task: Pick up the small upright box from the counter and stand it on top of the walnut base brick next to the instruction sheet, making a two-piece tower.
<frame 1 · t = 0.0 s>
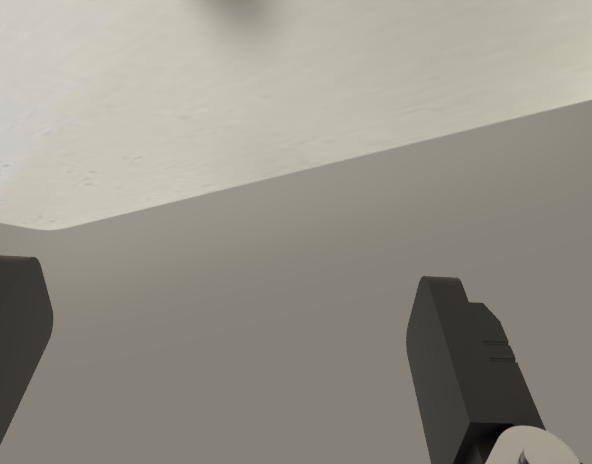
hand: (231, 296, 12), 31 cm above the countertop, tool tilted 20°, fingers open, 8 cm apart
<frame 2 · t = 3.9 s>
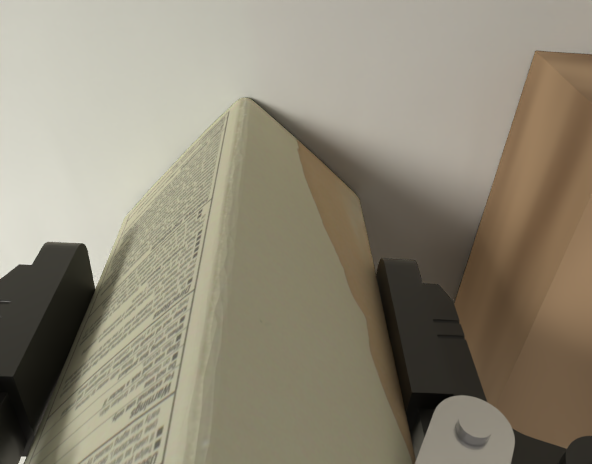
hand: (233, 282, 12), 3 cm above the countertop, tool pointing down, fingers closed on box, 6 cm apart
box: (244, 199, 15), on the countertop, touching gripper
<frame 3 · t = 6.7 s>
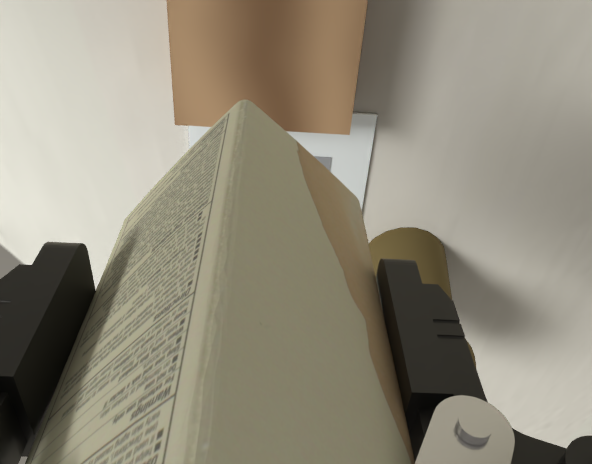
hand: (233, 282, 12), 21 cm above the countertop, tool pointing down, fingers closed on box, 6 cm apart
box: (244, 200, 15), point 18 cm above the countertop, touching gripper
base brick: (268, 18, 29), on the countertop
instruction sheet: (279, 168, 35), on the countertop
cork: (401, 260, 39), on the countertop
when the fingers open (8 cm above the countertop, at t = 9.9 s): box stays where it is, resting on base brick.
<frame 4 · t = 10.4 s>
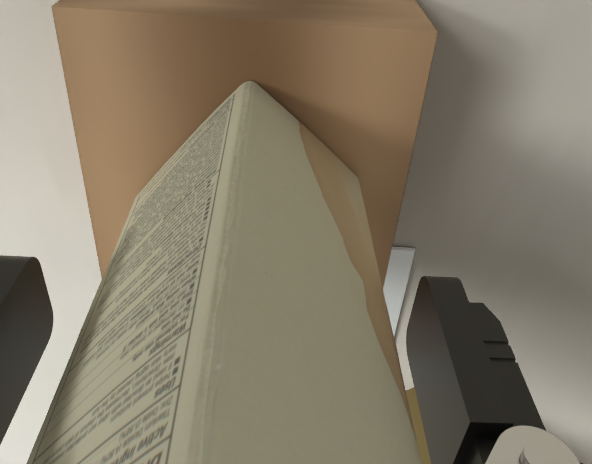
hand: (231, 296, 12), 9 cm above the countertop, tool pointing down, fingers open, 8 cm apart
box: (248, 179, 16), point 4 cm above the countertop, touching base brick
base brick: (253, 122, 19), on the countertop
instruction sheet: (271, 314, 24), on the countertop
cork: (439, 414, 29), on the countertop
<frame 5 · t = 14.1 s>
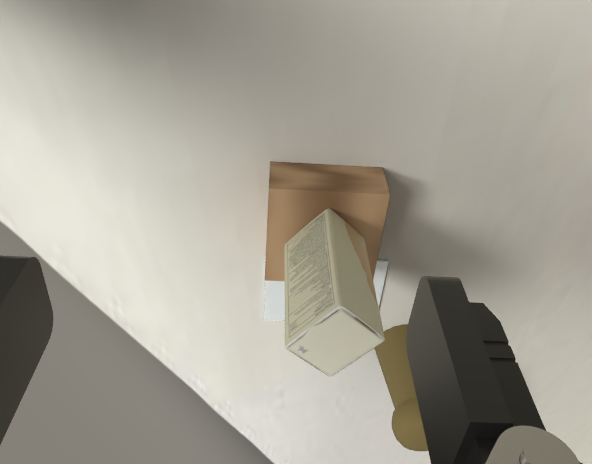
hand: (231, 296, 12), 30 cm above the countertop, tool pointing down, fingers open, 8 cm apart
box: (324, 238, 44), point 4 cm above the countertop, touching base brick
base brick: (321, 211, 47), on the countertop
instruction sheet: (323, 290, 52), on the countertop
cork: (403, 343, 57), on the countertop
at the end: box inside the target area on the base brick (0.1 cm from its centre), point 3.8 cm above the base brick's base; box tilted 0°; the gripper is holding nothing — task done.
